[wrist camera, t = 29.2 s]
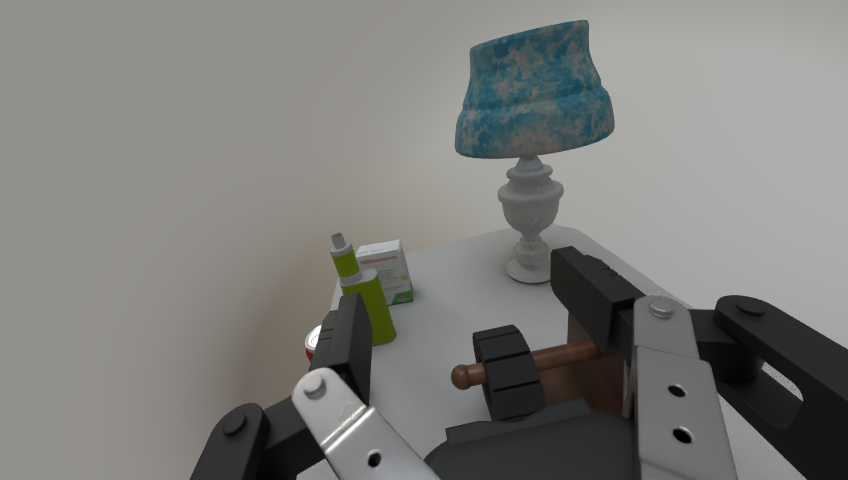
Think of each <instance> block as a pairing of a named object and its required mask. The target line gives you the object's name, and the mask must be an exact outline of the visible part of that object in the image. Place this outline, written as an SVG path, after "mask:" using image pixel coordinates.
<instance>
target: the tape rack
mask: <svg viewBox="0 0 848 480" xmlns="http://www.w3.org/2000/svg"><path fill="white" fill-rule="evenodd" d="M530 354H532V356H533V358H534V361H535V364H536V367H537V370H538V372H539V375H540V378H541V380H539V381H540V382H541V383H542V385H543V389H544V394H545V398H546V403H547V406H549V405H552V404H556V403H560V402H565V401H569V400H574V399H578V398H582V397H583V398H584V399H585V401H586V402H587V404H588V406H589V407H590V409H598V410H604V411H608V412H612V413H616V414H619V415H621V416H622V410H623V378H624V361H625V359H624V358H623V357H622V356H621V354H620V353H614V354H610V355H605V354H604V353H603V352H602V350H601V349H600V348H599V347H598V346H597V344H596V343H595V342H594V341H593V340H592V338H591V337H590V336H589V335H588V334H587V333H586V331H585V330H584V329H583V328H582V327H581V325H580V324H579V323H578V322H577V321H576V319H575V318H574V317H573V316H572V315H571V313H570V312H569V313H568V337H567V344H564V345H560V346H555V347H550V348H546V349H541V350H537V351H532V352H530ZM451 380H452V383H453V385H454V386H455V387H456V388H458V389H460V390H466V389H468V388H470V387H471V386H475V385H479V384H484V383H488V381H487V378H486V374H485V371H484V368H483V365H482V362H481V363H476V364H471V365H467V366H466V365H458V366H456V367H455V368H454V369H453V370H452V373H451Z"/></svg>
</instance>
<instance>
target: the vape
mask: <svg viewBox="0 0 848 480" xmlns="http://www.w3.org/2000/svg"><path fill="white" fill-rule="evenodd" d="M331 239H332V242H333V244H334V245H333V246H331V247H330V249H329V250H330V253H331V255H332V258H333V260H334V263H335V266H336V268H337V271H338V274H339V278H340V285H341V288H342V291H343V295H344V296H345V295H349V294H354V293H359V292H360V293H361V295H362V298H363V301H364V304H365V306H366V309H367V312H368V315H369V318H370V321H371V325H372V332H373V339H372V346H376V345H381V344H385V343H389V342H391V341H392V340H393V339H394V338H395V334H396V333H395V329H394V326H393V322H392V319H391V316H390V313H389V309H388V306H387V303H386V299H385V296H384V293H383V290H382V286H381V283H380V280H379V276H378V273H377V270H376V269H375V268H368V269H363V270H360V268H359V266H358V263H357V260H356V257H355V254H354V251H353V247H352V244H351V242H349V241H344V238H343V235H342V233H337V234H334V235H332V236H331Z"/></svg>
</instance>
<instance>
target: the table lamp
mask: <svg viewBox="0 0 848 480" xmlns="http://www.w3.org/2000/svg"><path fill="white" fill-rule="evenodd" d="M588 36H589V24H588V21H587V20H579V21H572V22H566V23H560V24H555V25H550V26H545V27H541V28H536V29H532V30H528V31H524V32H520V33H516V34H512V35H508V36H505V37H501V38H497V39H494V40H491V41H488V42H484V43H482V44H479V45H477V46H474V47H472V48H471V49H470V70H471V71H470V81H469V86H468V89H467V93H466V96H465V99H464V102H463V110H462V112H461V113H460V115H459V117H458V120H457V125H456V134H455V149H456V152H458V153H459V154H460V155H463V156H466V157H472V158H483V159H501V158H518V157H520V159H519V161H518V163H517V165H516V166H515V167H514V168H511V169H510V170H508V171H507V174H506V175H507V178H509V179H510V181H509V182H508V184H506V185H504V186H502V187H501V188H500V189H499V190H498V199H499V201H500V202H502V206H503V211H504V216H505V218H506V220H507V222H508V223H509V224H510V226H512V227H513V228H514V229H515V230H517V231H519V232H521V234H522V236H523V237H521V239H520V242H518V243H516V244H515V246H514V258H513V259H511V260H510V261H509V262H508V264H507V266H506V271H507V273H508V274H509V275H510V276H511V277H512V278H514V279H515V280H517V281H521V282H524V283H541V282H546V281H548V280H550V267H551V258H549V257H548V245H547V244H546V243H545V242H543V241H542V239H541V237H540V236H539V233H540V232H541V231H542V230H544V229H546V228H547V227H549V226H550V225H551V223H552V222H553V221H554V219H555V217H556V214H557V211H558V206H559V199H560V198H561V197H562V195H563V191H564V189H563V186H562V184H560V183H559V182H557V181H553V180H551V178H550V177H549V175H551V174H552V171H553V169H552V167H551V166H549V165H545V164H542V162H541V161H540V159H539V158H538V157H537V155H543V154H550V153H555V152H561V151H566V150H570V149H575V148H579V147H582V146H586V145H589V144H592V143H595V142H598V141H600V140H602V139H604V138H606V137H608V136H609V135H610V134H611V133H612V132H613V130H614V126H615V125H614V115H613V109H612V104H611V100H610V96H609V94H608V92H607V91H606V90H605V89H604V88H603V87H602V86H601V79H600V76H599V74H598V72H597V70H596V68H595V66H594V64H593V62H592V58H591V55H590V52H589V37H588Z"/></svg>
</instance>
